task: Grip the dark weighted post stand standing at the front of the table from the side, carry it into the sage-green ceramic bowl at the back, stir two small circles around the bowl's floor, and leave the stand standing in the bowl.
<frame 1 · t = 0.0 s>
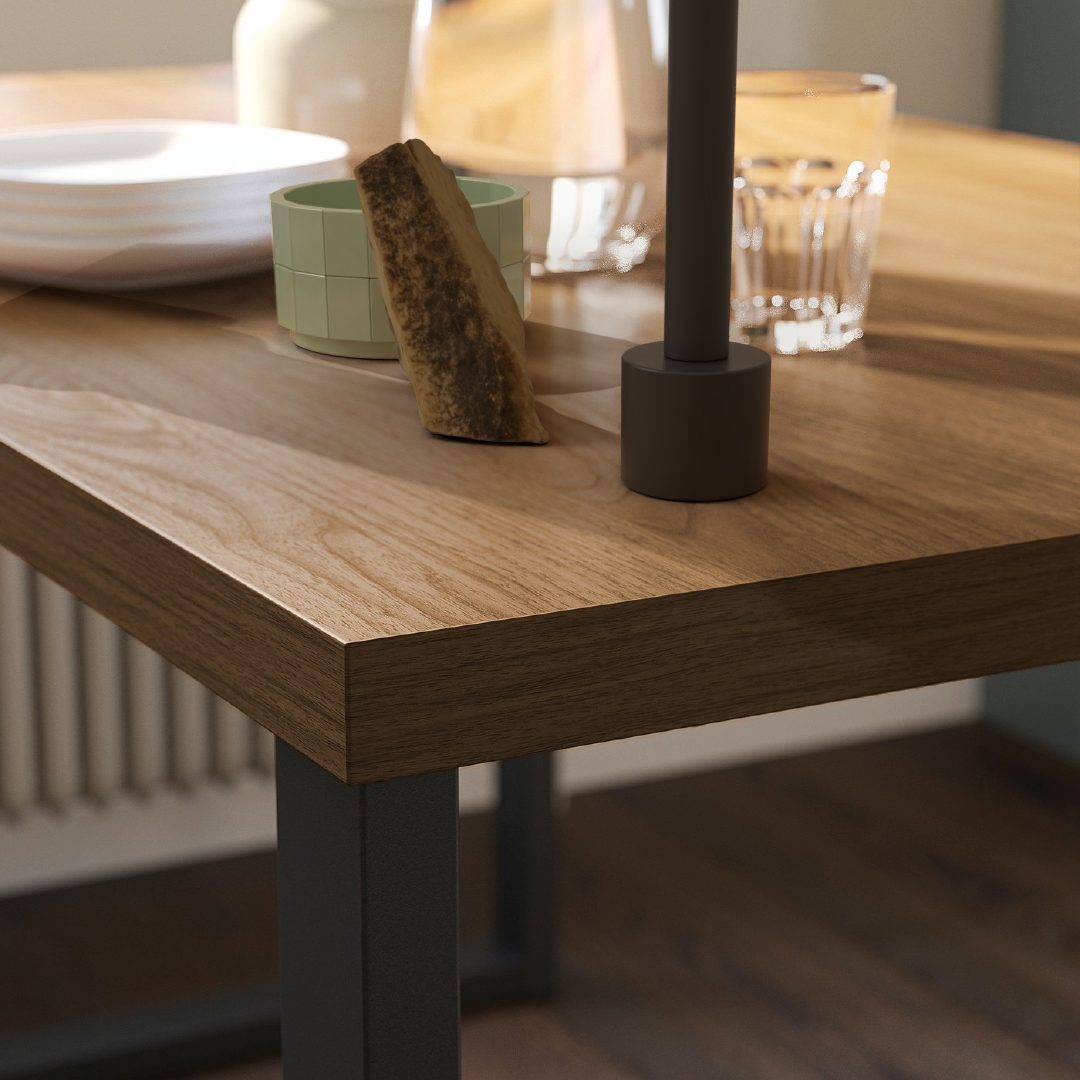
rock: (464, 410, 64), on the table
dark weighted post stand: (693, 479, 55), on the table
bowl: (404, 332, 75), on the table
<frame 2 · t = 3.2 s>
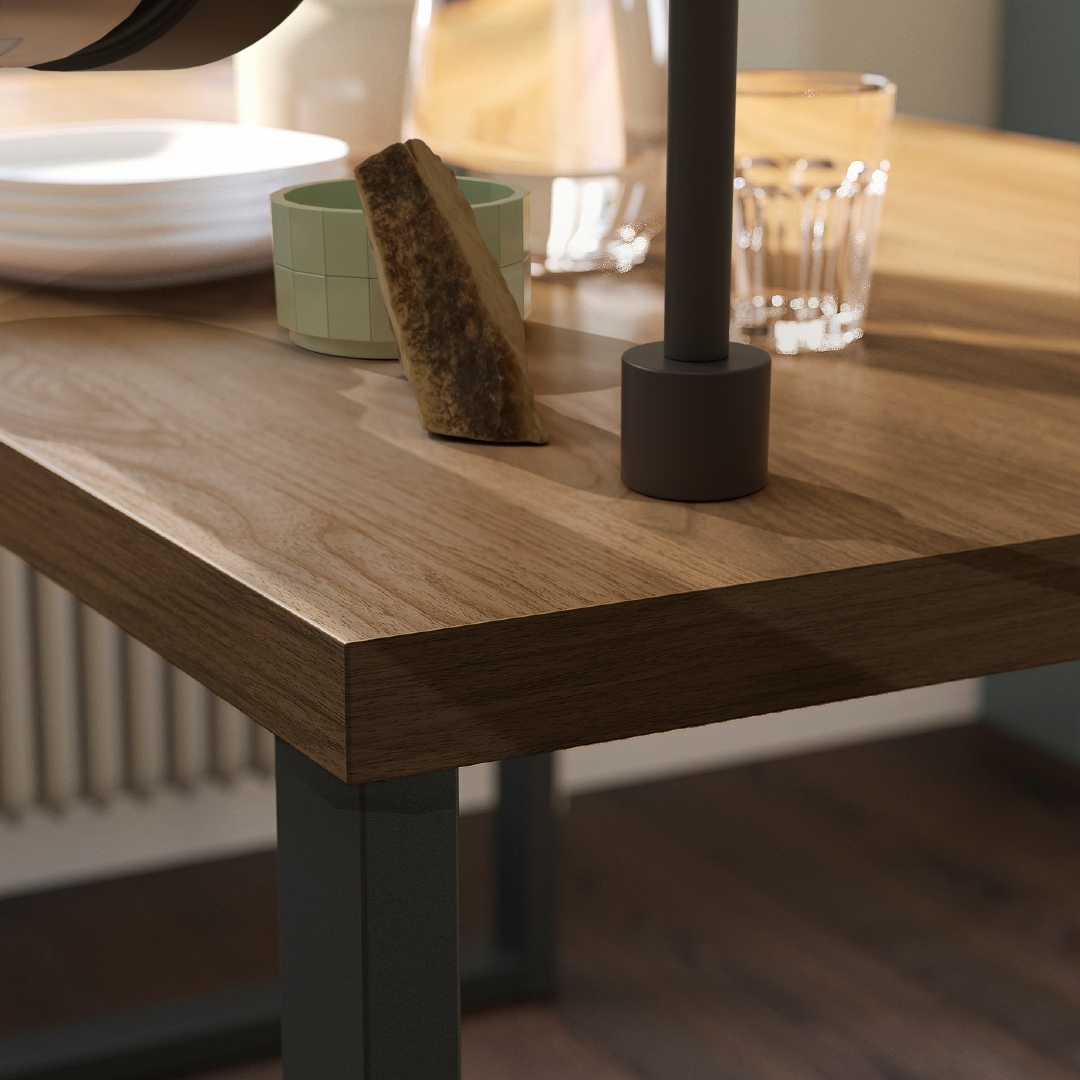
nothing on the table moved.
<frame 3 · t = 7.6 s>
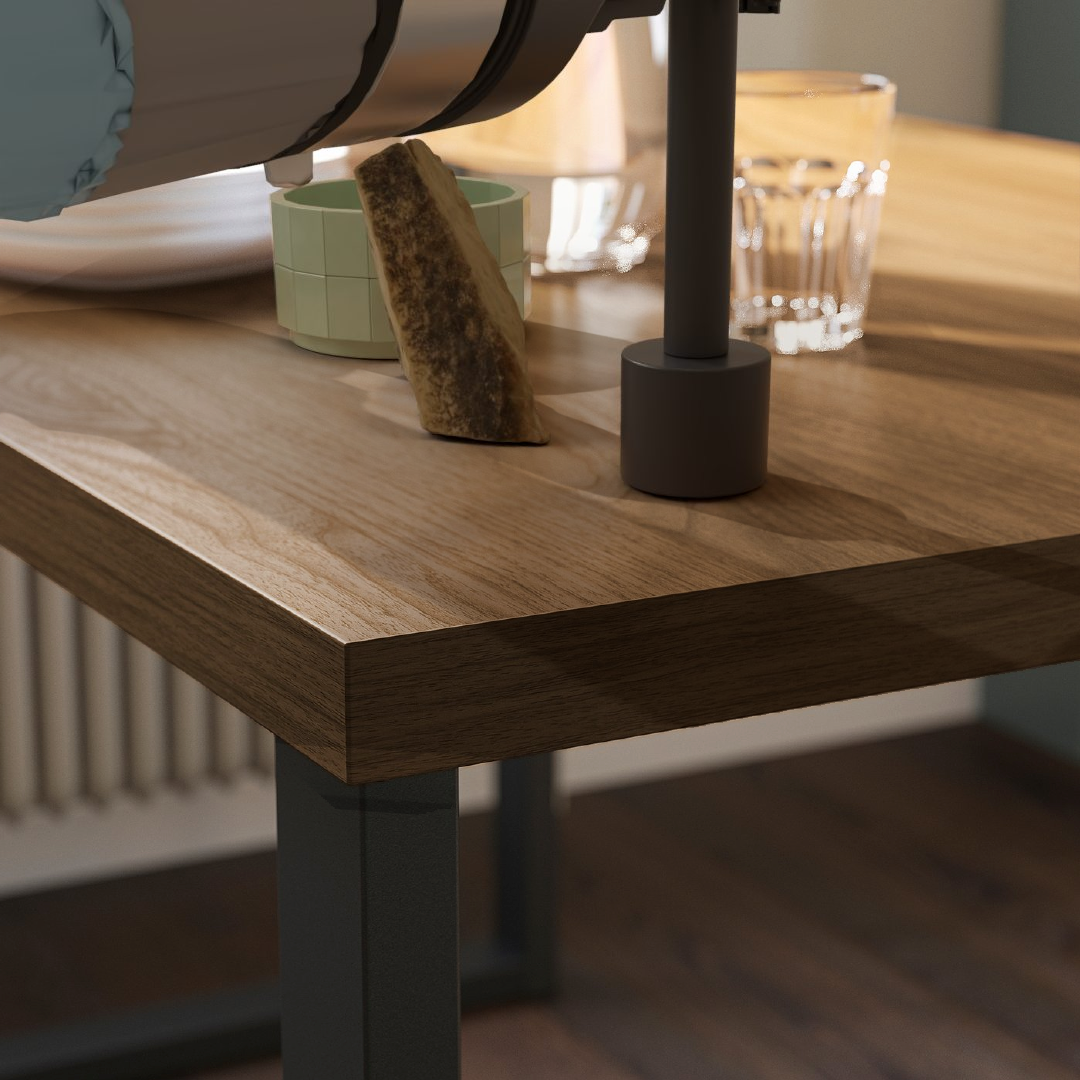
dark weighted post stand: (693, 476, 55), on the table, touching gripper
everything else where it was.
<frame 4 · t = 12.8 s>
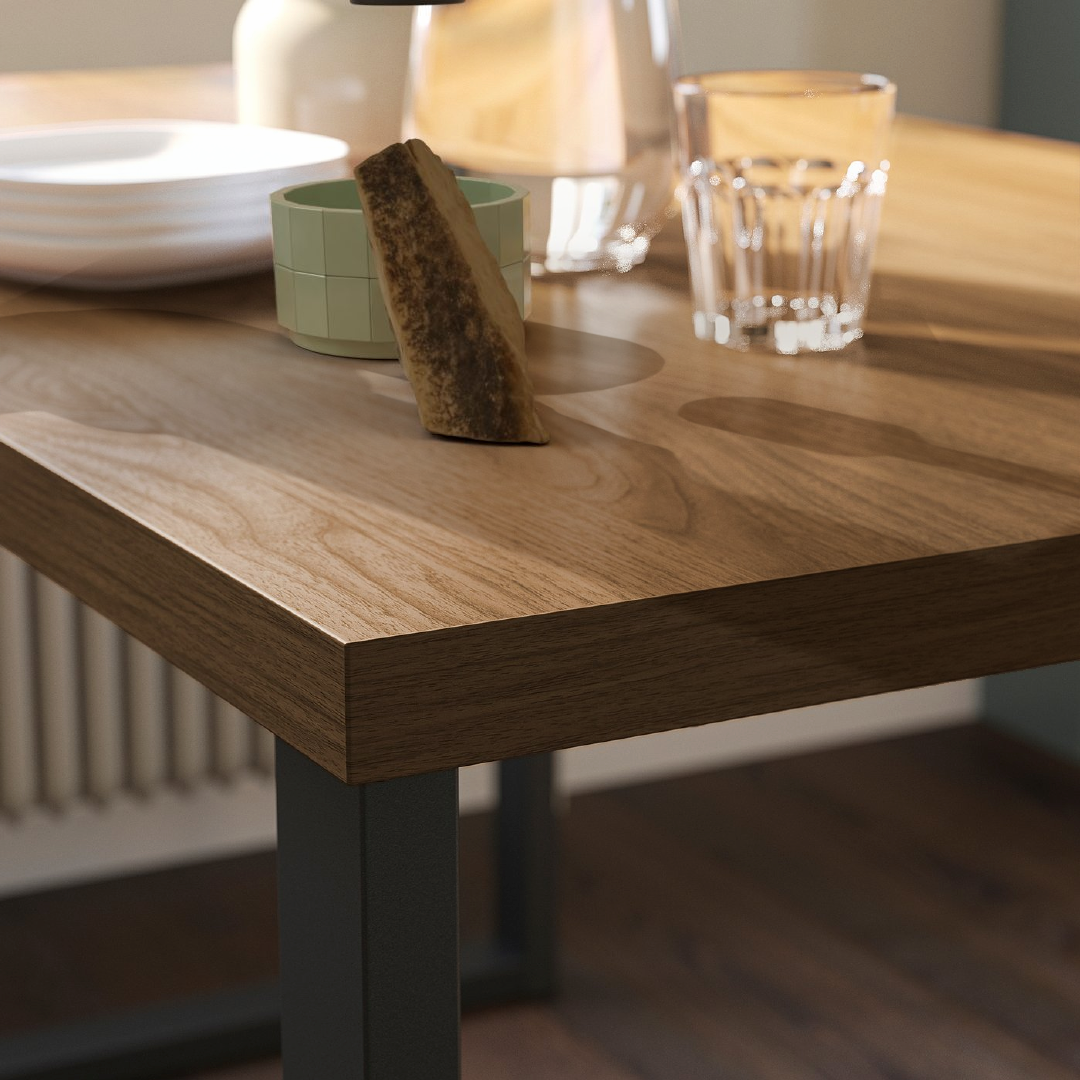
dark weighted post stand: (407, 3, 70), point 14 cm above the table, touching gripper
everything else where it was.
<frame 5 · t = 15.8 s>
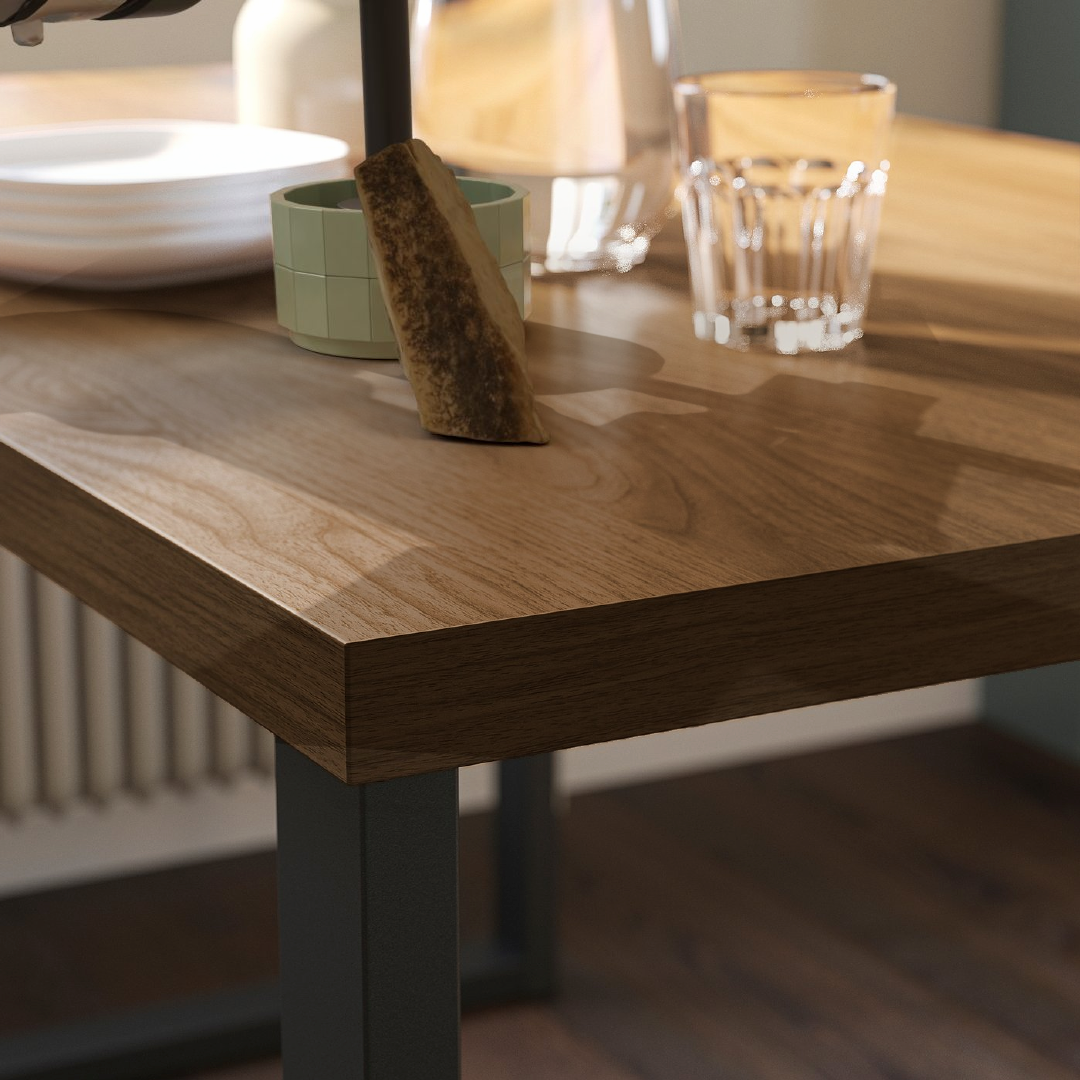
dark weighted post stand: (394, 295, 76), point 1 cm above the table, touching gripper
everything else where it was.
when the fingers open (17 cm above the table, at t = 18.1 s): dark weighted post stand stays where it is, resting on bowl.
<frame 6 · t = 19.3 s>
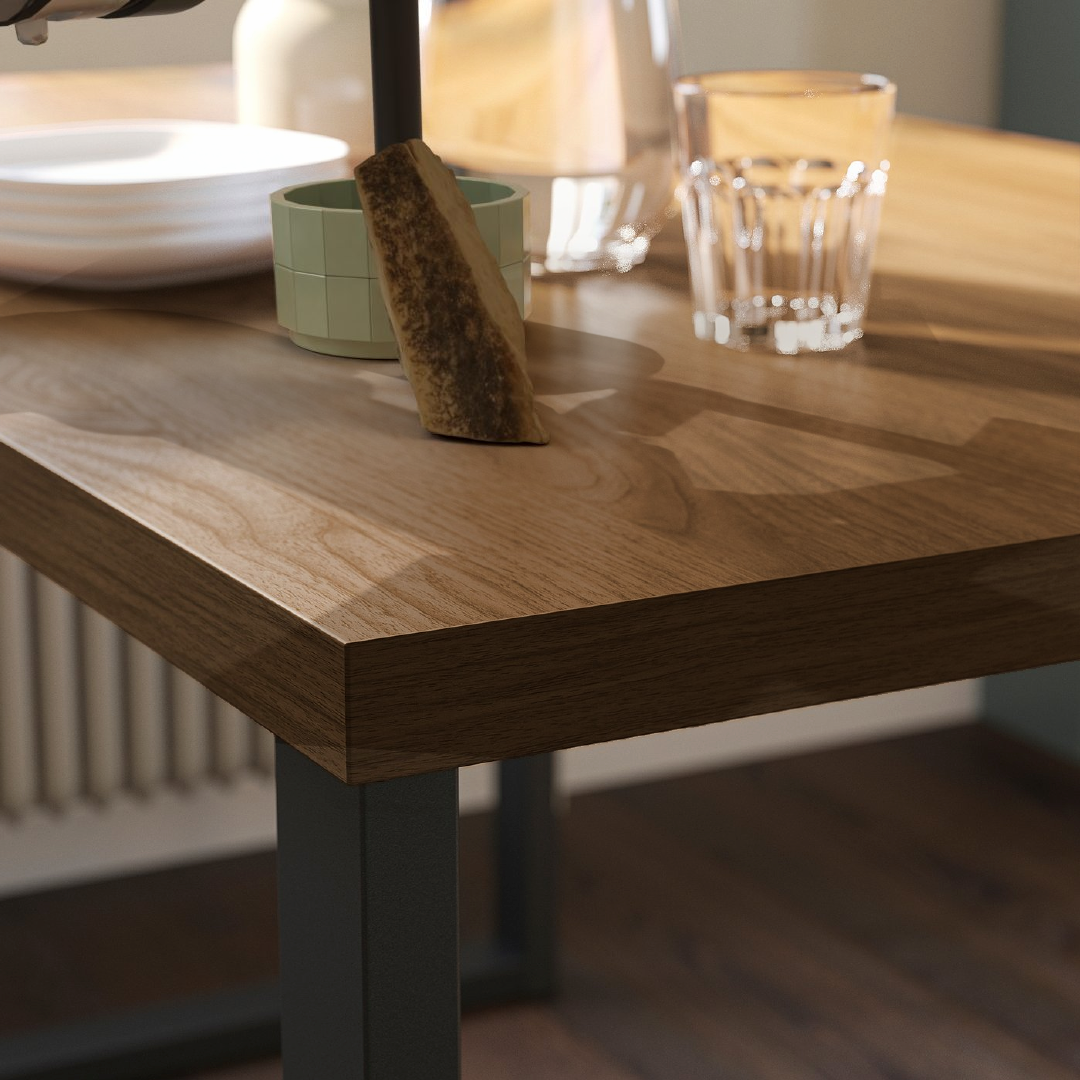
dark weighted post stand: (404, 315, 75), point 1 cm above the table, touching bowl
everything else where it was.
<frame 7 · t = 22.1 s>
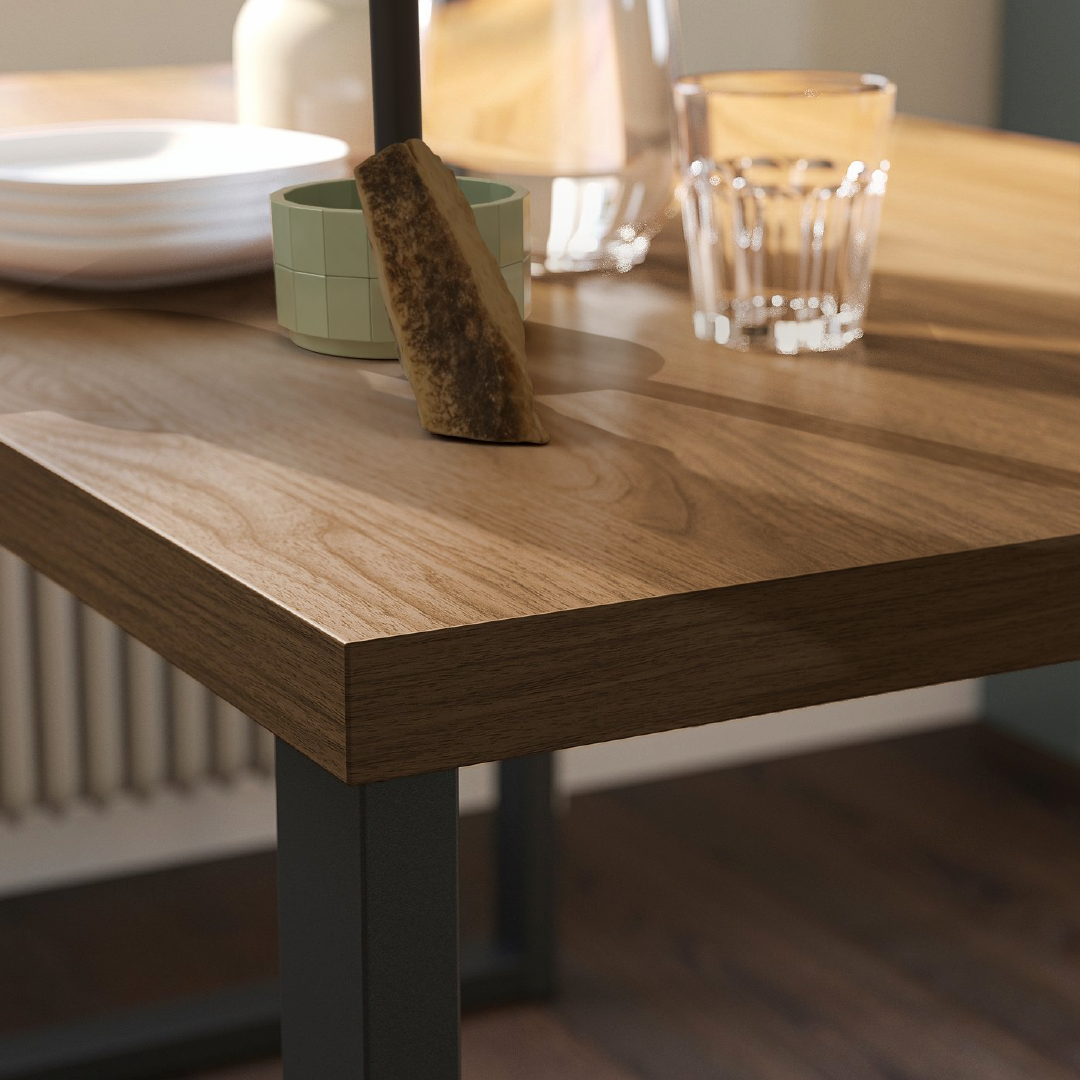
nothing on the table moved.
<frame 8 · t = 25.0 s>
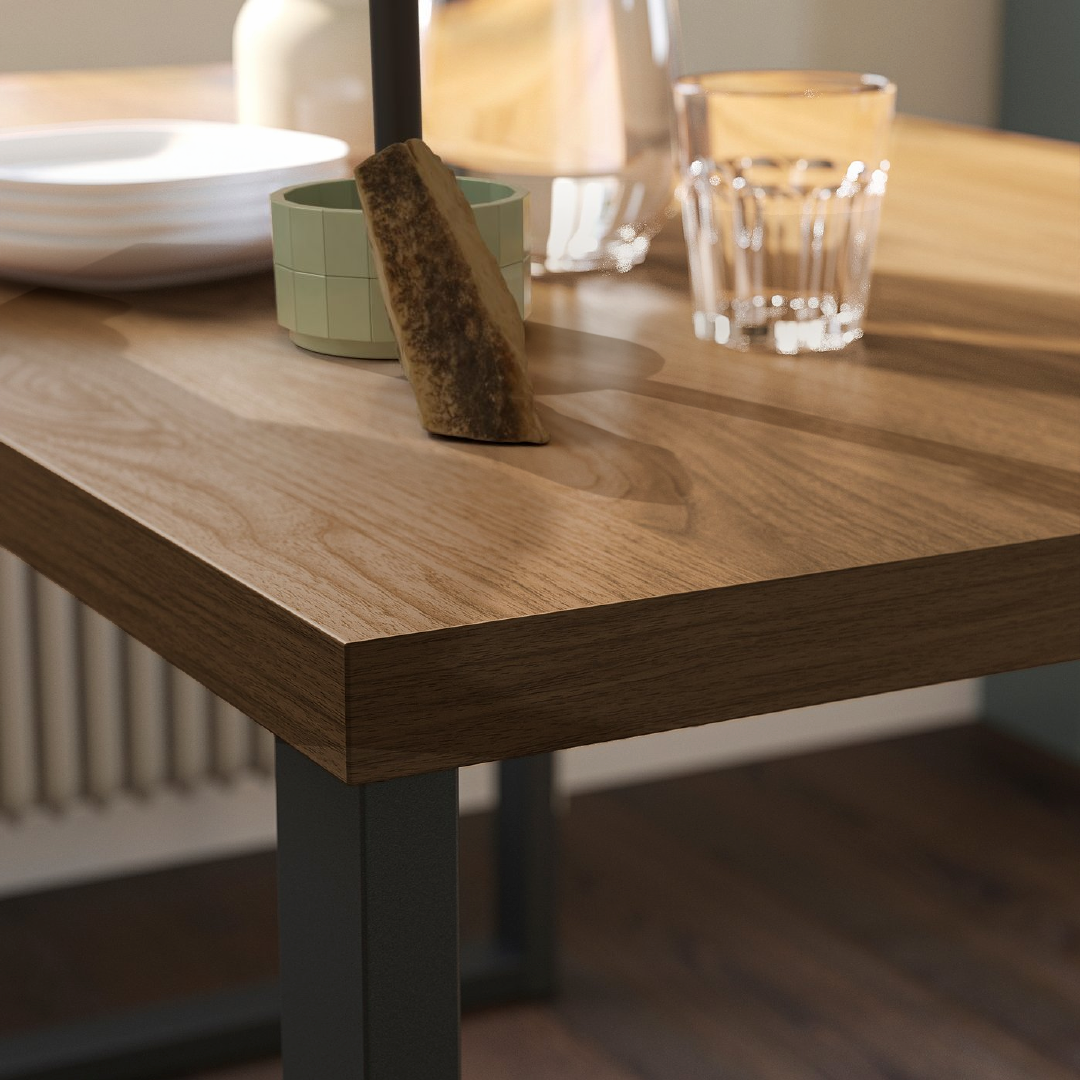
nothing on the table moved.
at the end: dark weighted post stand 0.1 cm off-centre in the bowl, point 0.8 cm above the bowl's base; dark weighted post stand tilted 0°; the gripper is holding nothing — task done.
